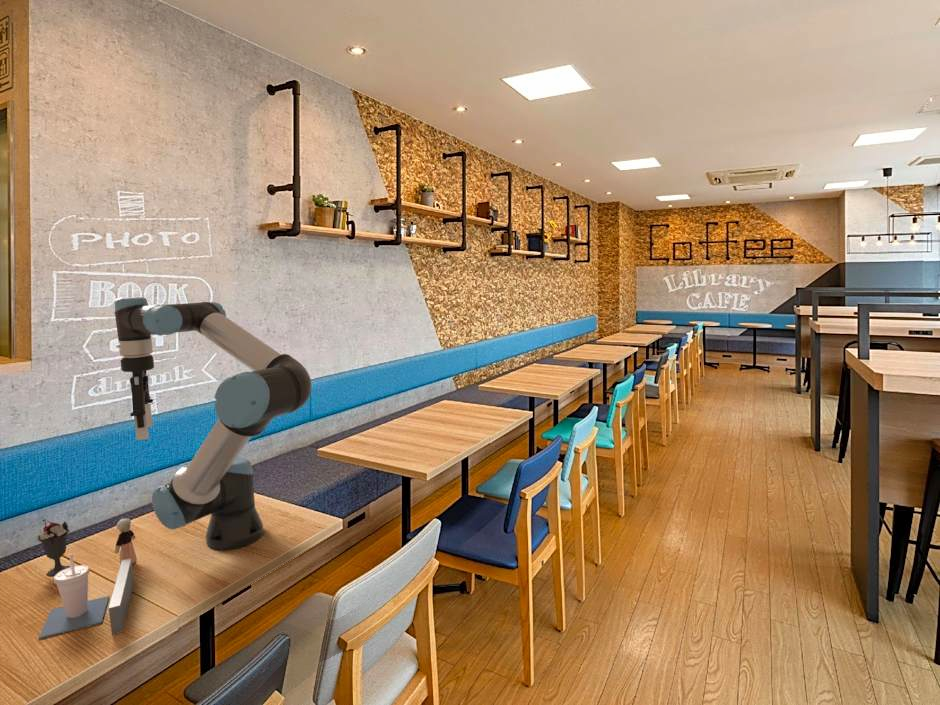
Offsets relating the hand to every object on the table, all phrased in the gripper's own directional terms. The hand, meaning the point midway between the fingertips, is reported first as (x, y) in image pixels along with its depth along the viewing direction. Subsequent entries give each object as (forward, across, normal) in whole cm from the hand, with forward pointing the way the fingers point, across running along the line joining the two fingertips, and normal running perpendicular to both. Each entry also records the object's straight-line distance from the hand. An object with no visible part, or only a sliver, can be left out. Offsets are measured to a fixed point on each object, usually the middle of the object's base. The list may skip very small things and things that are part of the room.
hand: (145, 432), depth 148 cm
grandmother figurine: (+33, +8, -6) cm, 34 cm away
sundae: (+33, +3, -22) cm, 40 cm away
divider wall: (+33, +29, -5) cm, 44 cm away
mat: (+33, +29, -14) cm, 46 cm away
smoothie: (+32, +28, -14) cm, 45 cm away
